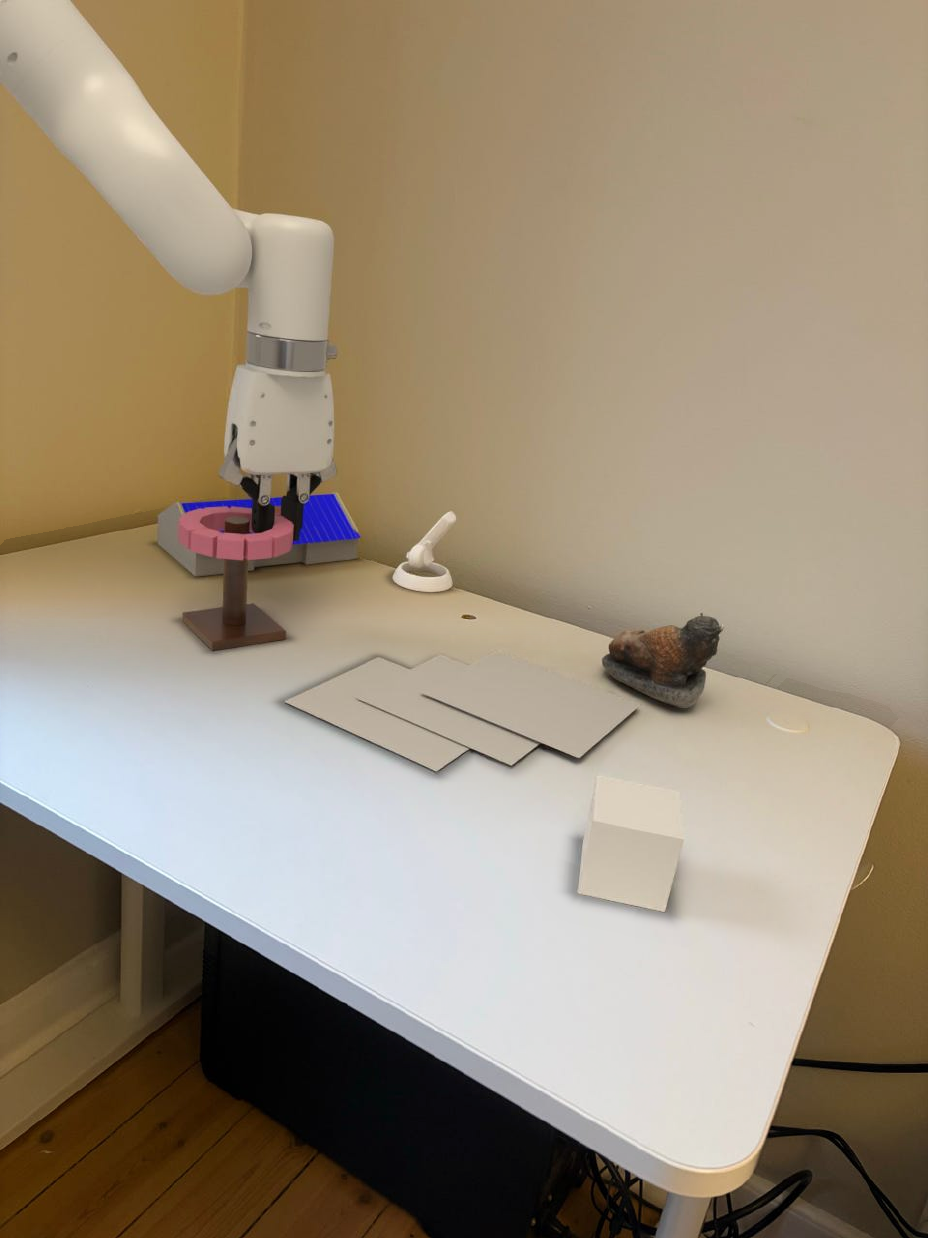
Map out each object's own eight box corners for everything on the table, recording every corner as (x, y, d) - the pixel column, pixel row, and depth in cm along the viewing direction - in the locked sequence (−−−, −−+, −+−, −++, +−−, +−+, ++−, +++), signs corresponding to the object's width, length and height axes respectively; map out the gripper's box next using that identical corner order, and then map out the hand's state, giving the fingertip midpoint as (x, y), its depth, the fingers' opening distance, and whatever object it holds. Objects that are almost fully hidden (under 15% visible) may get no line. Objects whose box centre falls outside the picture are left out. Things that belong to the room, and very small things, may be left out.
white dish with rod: (475, 567, 108) (430, 526, 107) (419, 622, 115) (378, 584, 115) (496, 539, 114) (454, 500, 113) (442, 593, 121) (402, 557, 121)
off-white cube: (582, 843, 69) (596, 774, 66) (662, 860, 68) (680, 791, 66) (577, 894, 63) (592, 820, 61) (665, 912, 62) (683, 839, 60)
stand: (212, 651, 91) (214, 535, 86) (182, 620, 96) (183, 510, 92) (285, 639, 95) (292, 528, 91) (253, 611, 101) (257, 506, 97)
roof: (197, 578, 108) (198, 518, 105) (155, 542, 118) (155, 486, 115) (359, 560, 121) (364, 506, 118) (309, 528, 131) (312, 478, 128)
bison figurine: (586, 676, 96) (603, 586, 92) (629, 663, 101) (647, 577, 97) (679, 726, 88) (702, 630, 84) (720, 709, 93) (744, 618, 89)
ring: (204, 564, 85) (205, 544, 84) (162, 528, 93) (163, 509, 92) (311, 554, 92) (312, 535, 91) (263, 521, 99) (264, 503, 99)
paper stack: (524, 812, 71) (525, 804, 71) (284, 702, 83) (284, 695, 82) (639, 710, 90) (641, 704, 90) (430, 632, 101) (431, 626, 101)
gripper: (340, 352, 95) (327, 522, 102) (190, 344, 86) (187, 532, 93) (378, 364, 90) (361, 543, 97) (222, 358, 81) (216, 556, 87)
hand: (276, 536), depth 95 cm, fingers closed on ring, 2 cm apart
